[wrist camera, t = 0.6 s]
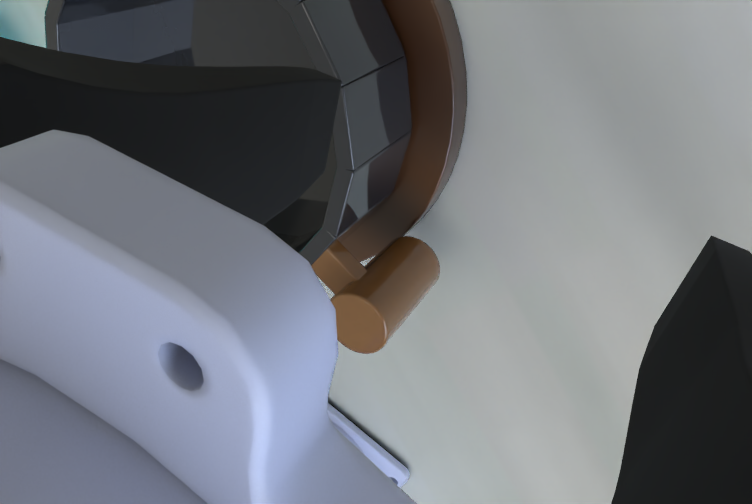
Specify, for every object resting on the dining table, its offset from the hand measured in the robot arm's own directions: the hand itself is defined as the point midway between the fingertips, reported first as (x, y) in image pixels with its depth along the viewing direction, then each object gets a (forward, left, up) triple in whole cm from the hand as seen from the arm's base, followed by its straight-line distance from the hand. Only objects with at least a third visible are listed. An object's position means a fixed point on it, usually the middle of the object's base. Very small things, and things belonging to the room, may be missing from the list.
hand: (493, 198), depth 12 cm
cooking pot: (-7, +8, -8) cm, 13 cm away
